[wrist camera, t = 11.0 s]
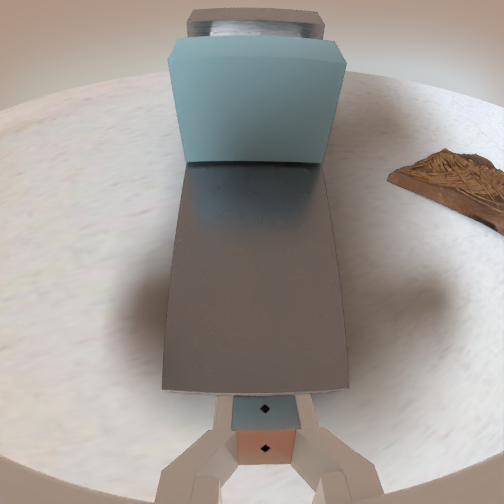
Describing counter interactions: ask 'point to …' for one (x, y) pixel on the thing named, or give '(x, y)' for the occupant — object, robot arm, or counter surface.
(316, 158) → the slide jaw
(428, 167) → the wooden fragment
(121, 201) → the counter surface
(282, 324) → the vise bed
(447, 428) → the counter surface
